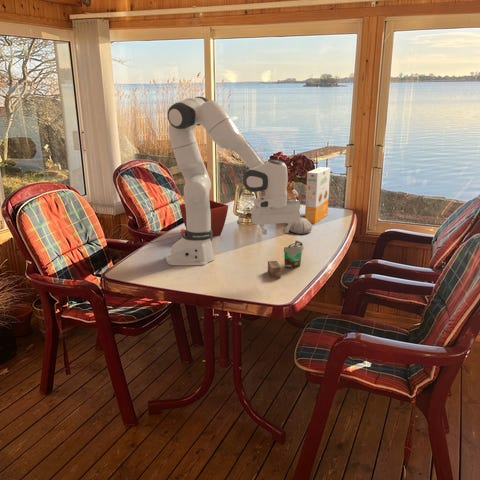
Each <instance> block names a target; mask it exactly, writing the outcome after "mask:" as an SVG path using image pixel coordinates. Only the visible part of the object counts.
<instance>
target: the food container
mask: <svg viewBox="0 0 480 480" xmlns="http://www.w3.org/2000/svg"><path fill="white" fill-rule="evenodd" d="M304 249H305V247H304V244H303V242H302V241H300V240H295V242H294V243H291V244H289V245H288V246H287V247H286V246H284V247H283V252H284V258H283V259H284V269H298V268H299V267H301V262H302V255H303V254H302V253H303V251H304ZM297 267H298V268H297Z"/></svg>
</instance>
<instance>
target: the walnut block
mask: <svg viewBox="0 0 480 480" xmlns="http://www.w3.org/2000/svg"><path fill="white" fill-rule="evenodd" d="M267 274H268V276H269V277H270V279H271V278H277V279H282V266H281V265H280V263H279V262H278V261H277V260H269V261H267Z"/></svg>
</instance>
